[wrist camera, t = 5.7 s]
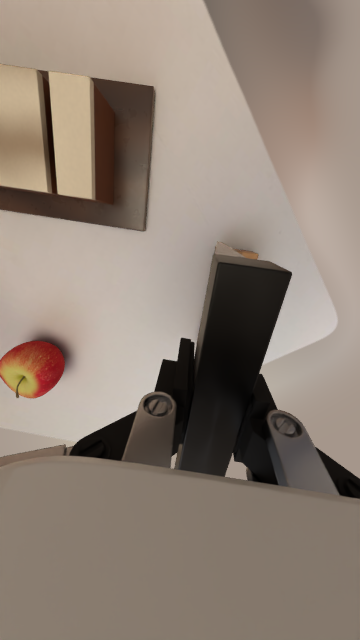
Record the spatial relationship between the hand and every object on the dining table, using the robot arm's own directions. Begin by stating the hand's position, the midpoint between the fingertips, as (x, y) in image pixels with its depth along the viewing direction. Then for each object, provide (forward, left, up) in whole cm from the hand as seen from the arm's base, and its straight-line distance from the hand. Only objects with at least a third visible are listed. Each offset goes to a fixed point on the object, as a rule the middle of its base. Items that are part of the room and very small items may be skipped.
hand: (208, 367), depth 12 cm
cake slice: (-12, -14, -20) cm, 27 cm away
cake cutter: (0, 0, -7) cm, 7 cm away
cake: (-12, -21, -21) cm, 32 cm away
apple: (+17, -24, -21) cm, 36 cm away
